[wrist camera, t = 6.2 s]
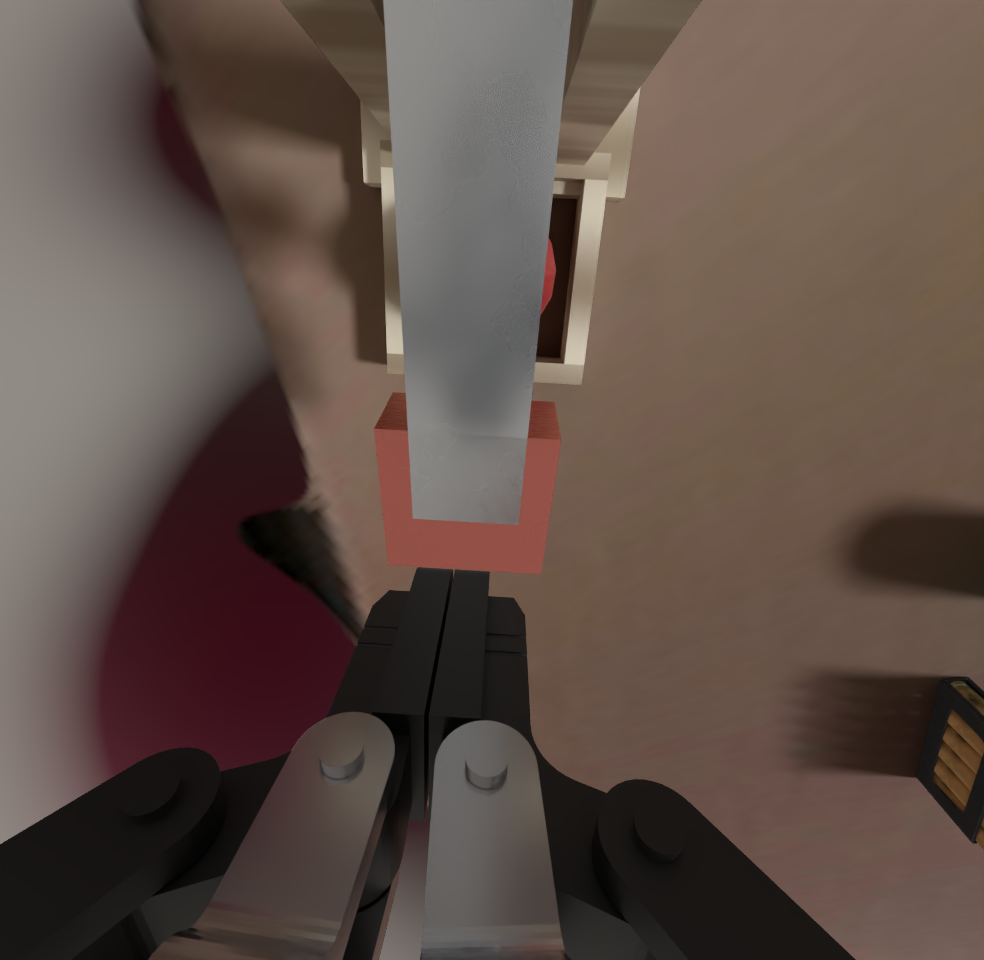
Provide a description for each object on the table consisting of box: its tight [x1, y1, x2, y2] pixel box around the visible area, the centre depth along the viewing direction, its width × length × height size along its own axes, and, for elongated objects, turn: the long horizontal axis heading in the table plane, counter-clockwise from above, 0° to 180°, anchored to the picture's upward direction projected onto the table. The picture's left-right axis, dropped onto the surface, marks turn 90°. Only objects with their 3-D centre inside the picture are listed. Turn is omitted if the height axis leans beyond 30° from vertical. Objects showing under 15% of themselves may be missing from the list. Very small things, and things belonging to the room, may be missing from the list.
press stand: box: [280, 0, 702, 385], centre depth 16 cm, size 14×12×16 cm
